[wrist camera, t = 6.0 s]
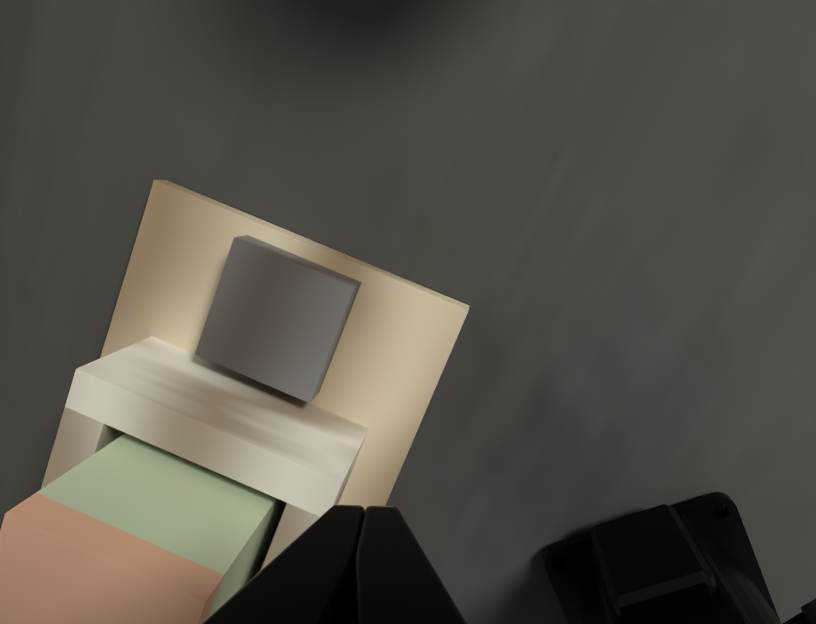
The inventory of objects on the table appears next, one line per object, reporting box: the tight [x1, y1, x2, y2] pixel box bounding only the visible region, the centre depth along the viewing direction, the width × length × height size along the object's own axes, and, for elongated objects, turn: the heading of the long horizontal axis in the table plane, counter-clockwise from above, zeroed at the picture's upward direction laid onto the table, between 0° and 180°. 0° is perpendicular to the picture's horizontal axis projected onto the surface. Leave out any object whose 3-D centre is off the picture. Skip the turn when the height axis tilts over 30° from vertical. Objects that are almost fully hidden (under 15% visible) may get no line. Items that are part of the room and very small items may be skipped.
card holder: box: [41, 180, 469, 572], centre depth 21 cm, size 11×18×5 cm, turn 158°
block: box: [0, 433, 286, 624], centre depth 18 cm, size 5×5×8 cm
